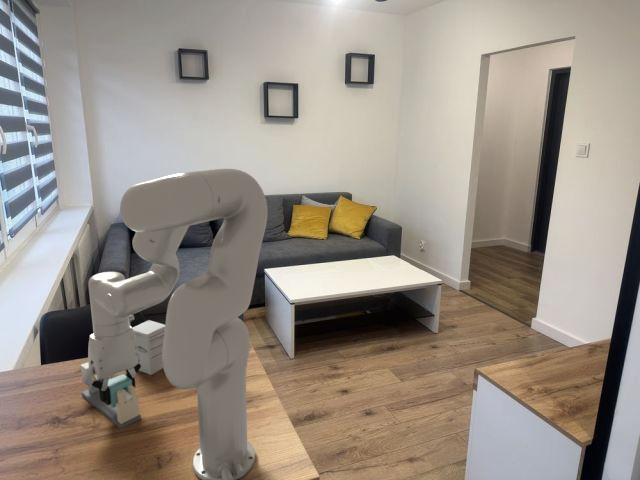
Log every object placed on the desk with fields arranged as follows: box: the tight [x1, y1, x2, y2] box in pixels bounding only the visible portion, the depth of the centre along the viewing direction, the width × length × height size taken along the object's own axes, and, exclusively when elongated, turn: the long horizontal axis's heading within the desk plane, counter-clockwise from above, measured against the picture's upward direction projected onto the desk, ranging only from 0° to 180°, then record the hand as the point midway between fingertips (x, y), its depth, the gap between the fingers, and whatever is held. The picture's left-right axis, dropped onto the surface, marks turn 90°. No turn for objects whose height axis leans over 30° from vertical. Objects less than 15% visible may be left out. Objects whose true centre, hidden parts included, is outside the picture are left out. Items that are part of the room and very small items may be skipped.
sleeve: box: [107, 373, 132, 408], centre depth 104 cm, size 4×5×5 cm
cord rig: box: [80, 361, 142, 429], centre depth 108 cm, size 20×5×8 cm, turn 51°
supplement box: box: [132, 319, 165, 376], centre depth 126 cm, size 7×7×13 cm
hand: (118, 396), depth 104 cm, fingers closed on sleeve, 5 cm apart
